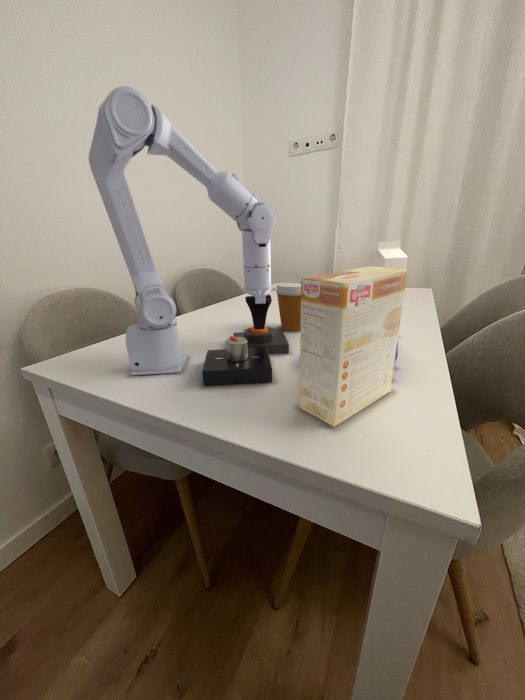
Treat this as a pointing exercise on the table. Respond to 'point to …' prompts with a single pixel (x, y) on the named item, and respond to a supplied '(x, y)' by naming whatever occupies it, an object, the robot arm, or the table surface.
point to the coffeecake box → (348, 339)
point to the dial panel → (237, 368)
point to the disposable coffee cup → (289, 305)
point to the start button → (259, 330)
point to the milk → (388, 256)
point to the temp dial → (236, 349)
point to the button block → (266, 340)
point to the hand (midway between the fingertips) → (259, 328)
